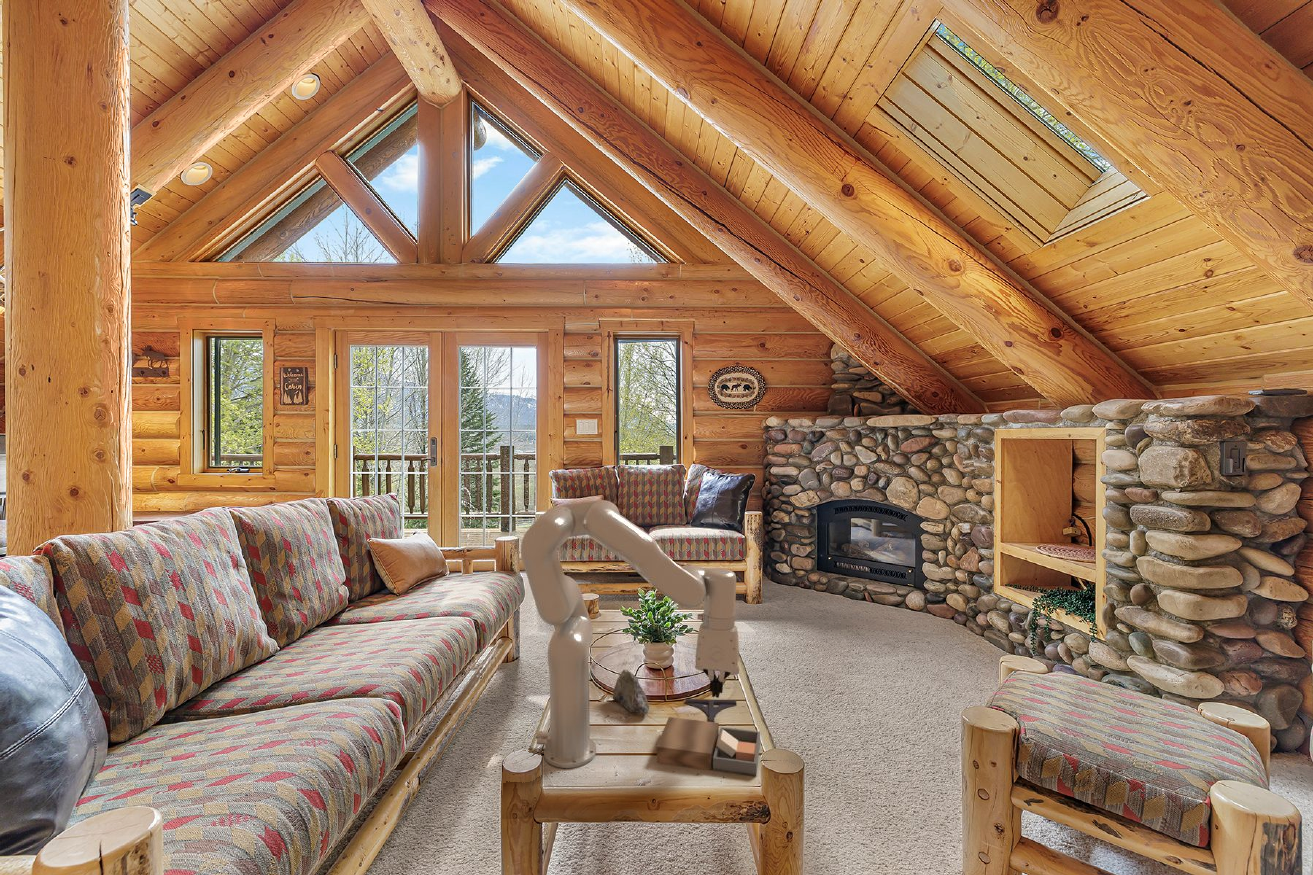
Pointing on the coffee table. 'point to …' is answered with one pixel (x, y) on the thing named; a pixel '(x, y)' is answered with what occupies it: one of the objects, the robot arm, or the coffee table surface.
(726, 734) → the cream tile
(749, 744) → the terracotta tile
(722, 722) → the coffee table surface
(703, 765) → the tan square panel
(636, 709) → the mineral rock
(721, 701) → the bracket
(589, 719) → the robot arm
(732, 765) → the box
